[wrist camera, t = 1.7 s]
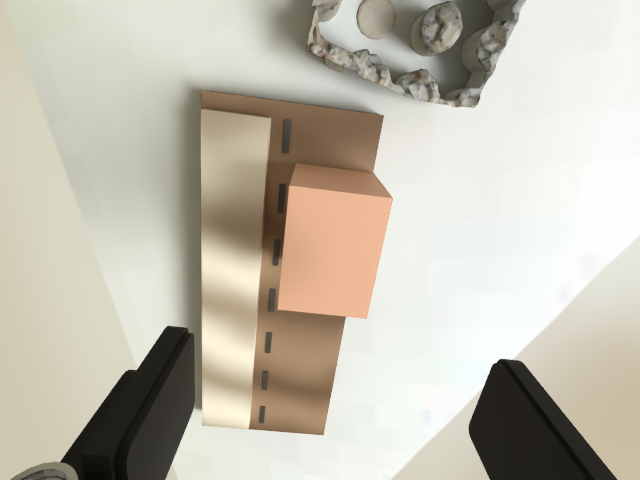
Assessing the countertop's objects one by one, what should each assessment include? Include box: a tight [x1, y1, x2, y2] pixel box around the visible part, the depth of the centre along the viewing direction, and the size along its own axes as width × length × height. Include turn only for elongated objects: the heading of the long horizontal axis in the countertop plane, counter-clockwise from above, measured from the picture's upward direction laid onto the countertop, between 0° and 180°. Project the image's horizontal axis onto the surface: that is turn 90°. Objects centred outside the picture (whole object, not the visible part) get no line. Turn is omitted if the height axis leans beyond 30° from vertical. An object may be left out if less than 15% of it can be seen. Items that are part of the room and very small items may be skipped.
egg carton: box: [306, 0, 526, 108], centre depth 19 cm, size 11×8×4 cm
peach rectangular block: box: [277, 163, 393, 319], centre depth 20 cm, size 7×5×6 cm
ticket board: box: [201, 90, 384, 435], centre depth 26 cm, size 28×11×2 cm, turn 173°
